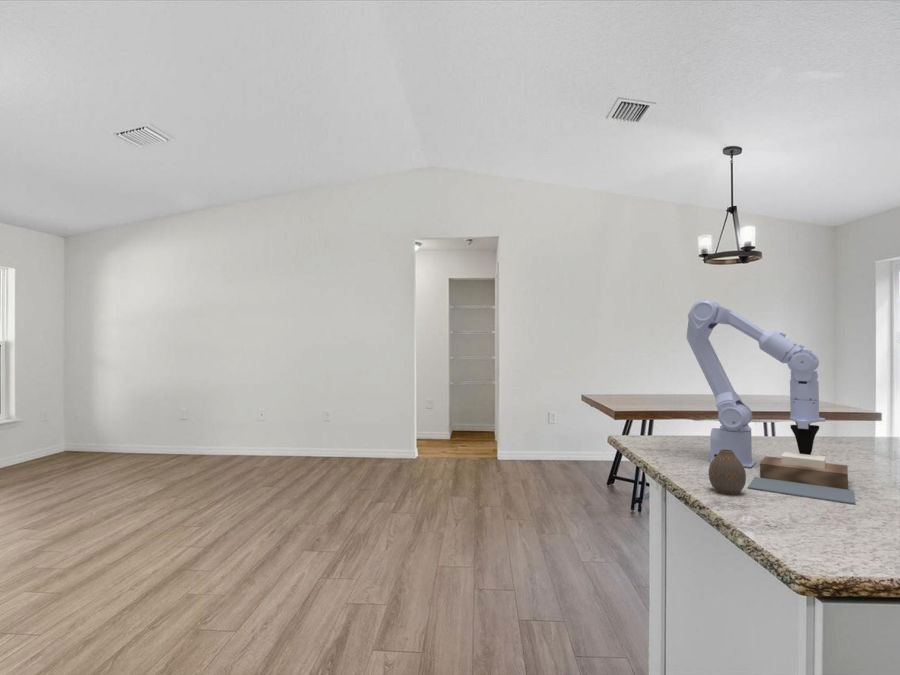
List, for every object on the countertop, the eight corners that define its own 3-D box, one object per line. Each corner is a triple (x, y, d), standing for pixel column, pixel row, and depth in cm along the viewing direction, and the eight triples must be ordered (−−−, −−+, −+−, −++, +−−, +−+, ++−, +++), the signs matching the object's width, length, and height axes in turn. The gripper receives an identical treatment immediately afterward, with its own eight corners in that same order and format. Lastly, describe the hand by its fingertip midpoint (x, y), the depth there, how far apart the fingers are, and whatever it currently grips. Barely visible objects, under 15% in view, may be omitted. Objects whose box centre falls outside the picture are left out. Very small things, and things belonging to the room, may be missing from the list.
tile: (781, 463, 115) (781, 456, 115) (783, 459, 119) (783, 451, 119) (824, 469, 110) (824, 460, 110) (825, 464, 114) (825, 456, 114)
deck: (760, 478, 115) (759, 463, 115) (765, 470, 123) (765, 456, 123) (848, 490, 105) (847, 474, 105) (847, 480, 113) (847, 465, 113)
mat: (747, 488, 107) (747, 487, 107) (754, 478, 115) (754, 476, 115) (855, 504, 95) (855, 503, 95) (854, 491, 104) (854, 490, 104)
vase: (704, 492, 104) (704, 450, 104) (714, 485, 109) (713, 445, 109) (741, 498, 99) (741, 455, 100) (749, 491, 104) (749, 450, 105)
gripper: (823, 402, 113) (825, 462, 112) (825, 398, 124) (826, 452, 124) (786, 400, 117) (787, 458, 117) (791, 396, 129) (792, 448, 128)
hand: (805, 454), depth 121 cm, fingers closed
